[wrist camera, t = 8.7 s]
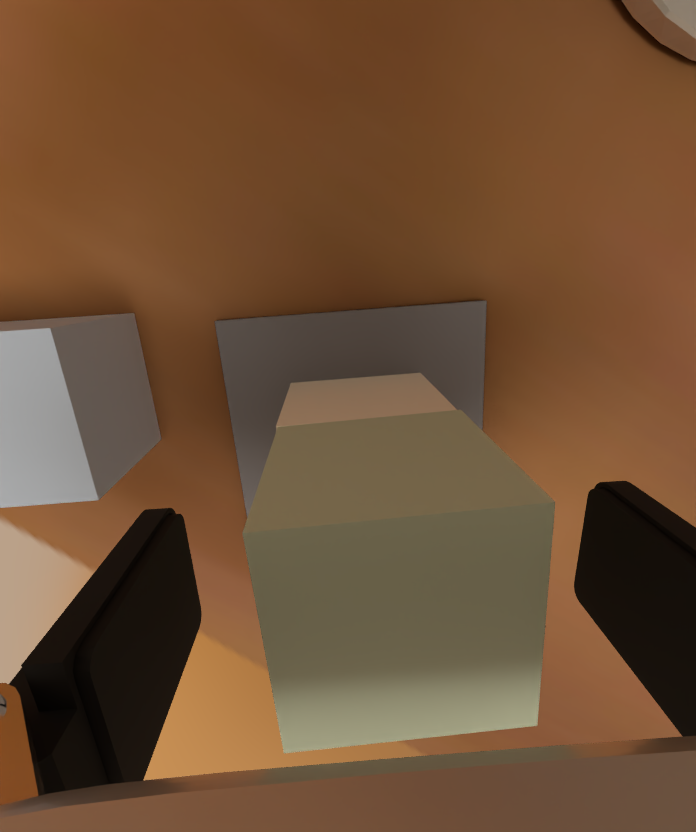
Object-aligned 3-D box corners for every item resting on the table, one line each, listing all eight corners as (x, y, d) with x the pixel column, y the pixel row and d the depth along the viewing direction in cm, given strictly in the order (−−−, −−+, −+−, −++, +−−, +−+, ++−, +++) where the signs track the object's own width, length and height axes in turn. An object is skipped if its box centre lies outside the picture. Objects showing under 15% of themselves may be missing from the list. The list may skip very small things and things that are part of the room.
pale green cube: (277, 427, 11) (242, 533, 7) (460, 409, 11) (555, 502, 7) (299, 579, 13) (283, 752, 8) (460, 562, 13) (537, 725, 8)
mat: (217, 320, 16) (214, 321, 15) (483, 300, 16) (486, 300, 16) (254, 548, 19) (253, 553, 18) (476, 528, 19) (479, 534, 19)
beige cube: (290, 382, 16) (275, 426, 11) (420, 372, 16) (458, 411, 11) (304, 498, 18) (295, 578, 13) (422, 488, 18) (456, 564, 13)
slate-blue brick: (-3, 322, 15) (-150, 341, 11) (134, 312, 16) (50, 328, 11) (37, 447, 17) (-75, 513, 12) (162, 438, 17) (98, 500, 12)
